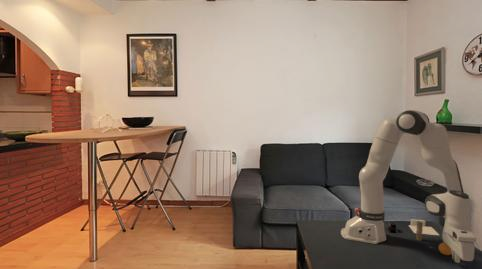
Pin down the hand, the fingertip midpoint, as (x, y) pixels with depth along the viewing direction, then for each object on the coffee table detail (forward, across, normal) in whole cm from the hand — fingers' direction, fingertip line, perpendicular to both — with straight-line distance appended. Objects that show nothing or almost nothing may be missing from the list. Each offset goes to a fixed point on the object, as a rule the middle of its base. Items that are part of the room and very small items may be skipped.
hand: (456, 261), depth 126 cm
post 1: (+2, -25, -6) cm, 26 cm away
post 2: (+2, -25, +6) cm, 26 cm away
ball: (-1, -10, 0) cm, 10 cm away
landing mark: (+2, -39, 0) cm, 39 cm away
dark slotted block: (+3, -36, -17) cm, 39 cm away
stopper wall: (+2, -47, 0) cm, 47 cm away
